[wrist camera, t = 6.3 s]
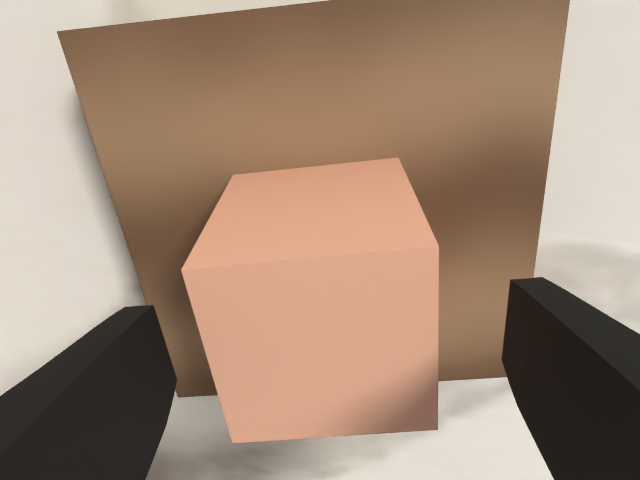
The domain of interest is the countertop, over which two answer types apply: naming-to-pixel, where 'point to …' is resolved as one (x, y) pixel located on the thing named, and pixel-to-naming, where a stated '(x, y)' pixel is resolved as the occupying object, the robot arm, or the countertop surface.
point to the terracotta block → (319, 303)
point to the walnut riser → (332, 137)
